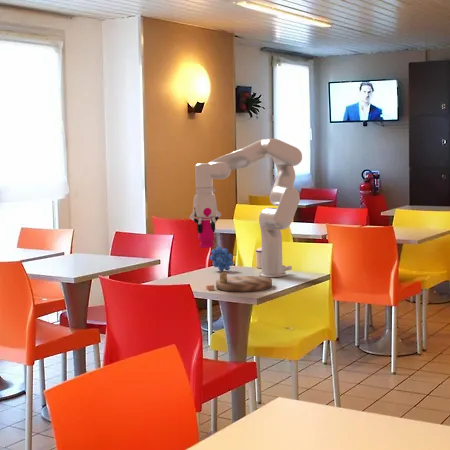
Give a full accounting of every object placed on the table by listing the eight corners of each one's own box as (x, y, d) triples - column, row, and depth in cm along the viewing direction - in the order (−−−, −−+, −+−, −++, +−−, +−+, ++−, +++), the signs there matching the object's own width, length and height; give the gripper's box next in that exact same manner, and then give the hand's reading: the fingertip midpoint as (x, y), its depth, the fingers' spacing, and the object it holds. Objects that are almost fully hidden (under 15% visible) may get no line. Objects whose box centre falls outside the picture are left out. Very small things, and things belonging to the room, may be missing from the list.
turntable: (257, 279, 357) (257, 265, 356) (281, 288, 335) (281, 272, 334) (207, 284, 348) (207, 270, 347) (229, 293, 326) (228, 277, 325)
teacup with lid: (273, 268, 390) (273, 245, 389) (255, 269, 392) (254, 245, 391) (275, 265, 402) (275, 242, 401) (257, 265, 403) (257, 242, 402)
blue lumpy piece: (207, 272, 386) (207, 247, 384) (211, 270, 392) (210, 245, 391) (231, 272, 383) (230, 247, 382) (234, 270, 389) (233, 245, 388)
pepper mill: (212, 247, 347) (210, 202, 345) (196, 248, 349) (194, 202, 347) (216, 245, 354) (214, 200, 352) (201, 245, 356) (199, 201, 354)
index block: (213, 289, 339) (212, 284, 339) (214, 290, 337) (214, 285, 337) (206, 289, 338) (206, 285, 338) (207, 290, 336) (207, 285, 336)
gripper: (219, 189, 356) (220, 230, 358) (183, 192, 349) (185, 233, 351) (225, 190, 349) (227, 231, 351) (189, 193, 342) (191, 235, 344)
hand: (206, 232), depth 351 cm, fingers closed on pepper mill, 5 cm apart
